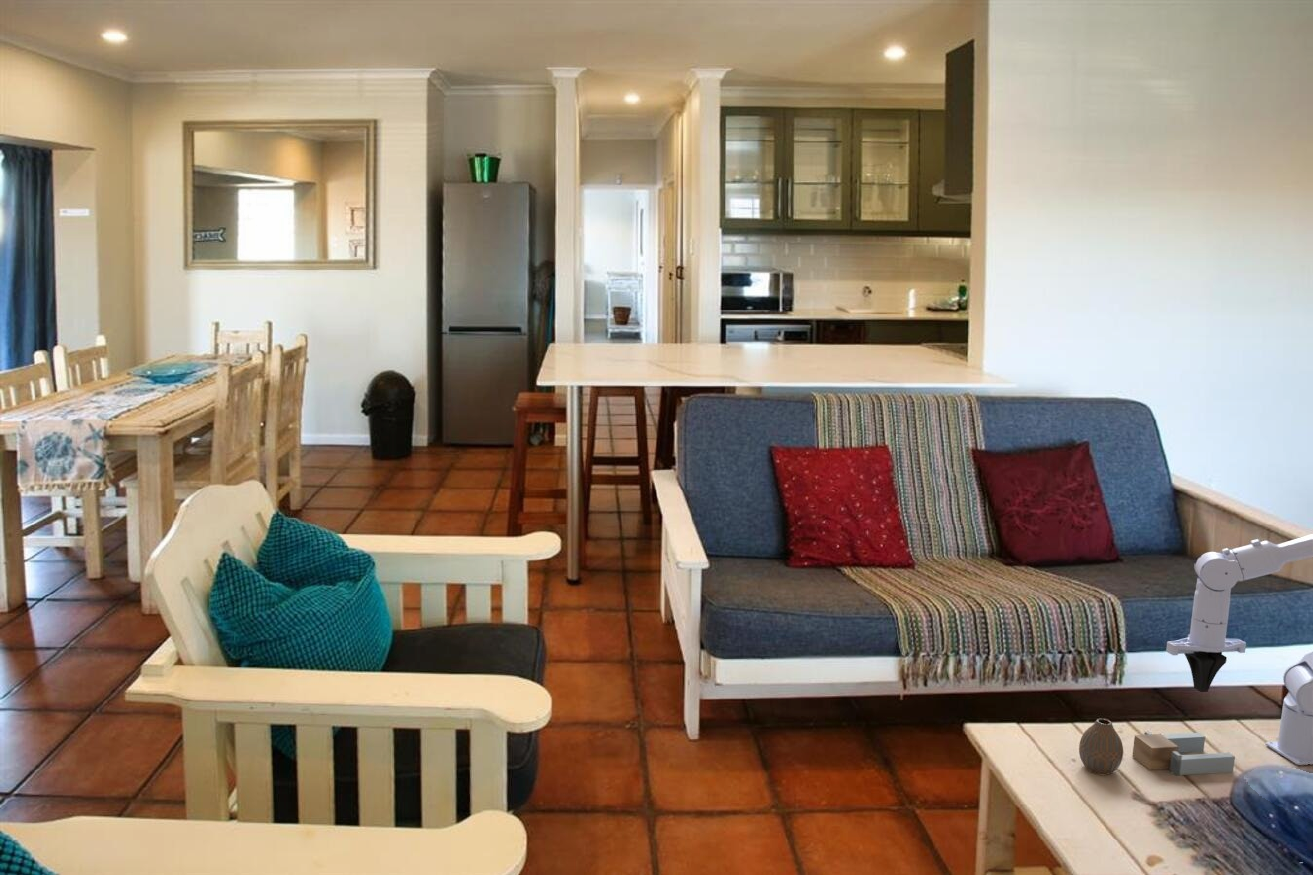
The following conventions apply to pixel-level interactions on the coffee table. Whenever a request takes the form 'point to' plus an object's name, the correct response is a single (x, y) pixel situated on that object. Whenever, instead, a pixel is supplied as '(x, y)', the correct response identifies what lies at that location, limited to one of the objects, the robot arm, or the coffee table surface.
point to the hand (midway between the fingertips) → (1200, 689)
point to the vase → (1101, 748)
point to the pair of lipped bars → (1196, 756)
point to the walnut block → (1153, 751)
